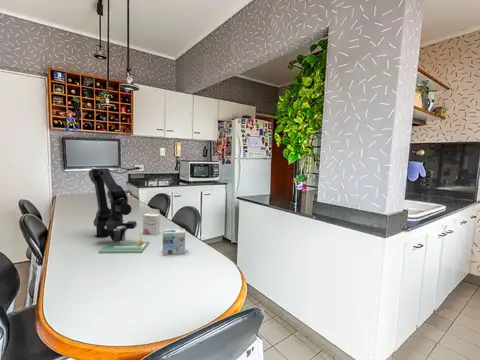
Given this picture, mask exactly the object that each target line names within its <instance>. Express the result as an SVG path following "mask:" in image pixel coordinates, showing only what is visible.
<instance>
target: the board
mask: <svg viewBox="0 0 480 360" xmlns="http://www.w3.org/2000/svg"><path fill="white" fill-rule="evenodd" d="M149 244H150V241H147V240H143V236H140V237H138V239H137V240H123V241H120V242H114V241H109V242H108V243H107V244H105V245H104V246H103V247H102V248H100V250H98V251H97V253H98V254H141V253H142V254H143V252H144V251H145V250H146V248H147V247H148V246H149Z"/></svg>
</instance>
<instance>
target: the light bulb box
mask: <svg viewBox="0 0 480 360" xmlns="http://www.w3.org/2000/svg"><path fill="white" fill-rule="evenodd" d="M185 251H186V229H185V228H171V229H170V228H169V229H167V228H166V229H163V231H162V256H166V255H168V256H169V255H183V254H184V255H185Z"/></svg>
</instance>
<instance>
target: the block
mask: <svg viewBox="0 0 480 360" xmlns="http://www.w3.org/2000/svg"><path fill="white" fill-rule="evenodd" d="M120 229H122V227H117V229H114V240H113V242H120V241H121V239H120V237H121V231H120ZM125 240H126V233H125V234H124V237H123V239H122V241H125Z"/></svg>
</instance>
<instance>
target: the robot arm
mask: <svg viewBox="0 0 480 360" xmlns="http://www.w3.org/2000/svg"><path fill="white" fill-rule="evenodd" d="M88 175H89V179H90V181H91V182H92V183H93V184H94V189H95V195H96V196H95V197H96V203H97V208H98V209H97V211H96V212H95V218H94V219H93V221H92V222H93V226H94V227H96V235H95V236H94V237H96V238H108V237H110V239H111V242H114V230H116V229H117V228H122V229H120V231H121V237H120V239H121V241H122V239H123V237H124V234H125V235H126V233H127V230H134V229H135V228H136V227H137V225H138V224H137V222H136V220H128V221H127V222H124V221H125V220H124V216H127V215H129V214H130V213H131V212H132V209H133V208H132V206H131V204H128V202H129V199H128V196H127V194H126V191H125V190H124V188H123V187H122V186H121V185H120V184H119V185H118V183H117V182H116V180H115V179H114V177H113V175H112V174H111V172H110V169H109V168H107V167H106V168H104V167H103V168H91V169H90V170H89V171H88ZM105 186H106V188H107V194H106V188H105ZM107 197H108V199H109V204H110V208H109V207H108V200H107Z"/></svg>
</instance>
